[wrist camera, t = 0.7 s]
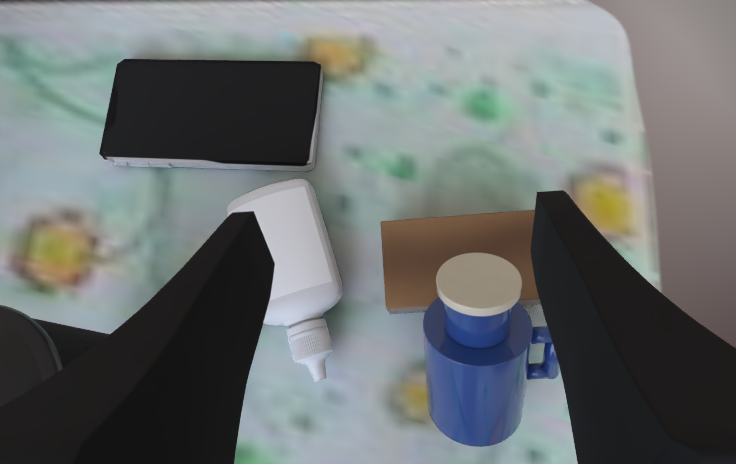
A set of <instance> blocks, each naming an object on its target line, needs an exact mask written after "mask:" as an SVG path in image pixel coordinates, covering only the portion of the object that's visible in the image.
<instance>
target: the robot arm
mask: <svg viewBox="0 0 736 464" xmlns="http://www.w3.org/2000/svg"><path fill="white" fill-rule="evenodd" d="M530 252H531V259H532V265H533V272H534V277H535V283H536V288H537V292H538V295H539V299H540V302H541V306H542V309H543V312H544V316H545V319H546V323H547V326H548V329H549V333H550V336H551V339H552V343H553V346H554V349H555V353H556V356H557V360H558V363H559V366H560V370H561V375H562V379H563V383H564V388H565V393H566V399H567V404H568V409H569V415H570V420H571V426H572V432H573V438H574V443H575V449H576V455H577V461H578V464H736V348H734V347H733V346H731V345H730V344H728V343H727V342H725V341H724V340H723V339H721V338H720V337H718V336H717V335H715V334H714V333H712V332H711V331H710V330H708V329H707V328H705V327H704V326H702V325H701V324H699V323H698V322H696V321H695V320H694V319H693V318H691V317H690V316H689V315H687V314H686V313H685V312H683V311H682V310H681V309H680V308H678V307H677V306H676V305H675V304H674V303H672V302H671V301H670V300H669V299H668V298H666V297H665V296H664V295H663V294H662V293H660V292H659V291H658V290H657V289H656V288H655V287H654V286H652V285H651V284H650V283H649V282H648V281H647V280H646V279H645V278H644V277H643V276H642V275H640V274H639V273H638V272H637V271H636V270H635V269H634V268H633V267H632V266H631V265H630V264H629V263H628V262H627V261H626V260H625V259H624V258H623V257H622V256H621V255H620V254H619V253H618V252H617V251H616V250H615V249H614V248H613V246H612V245H611V244H610V243H609V242H608V241H607V240H606V239H605V238H604V237H603V236H602V235H601V234H600V232H599V231H598V230H597V229H596V228H595V227H594V226H593V224H592V223H591V222H590V221H589V220H588V219H587V217H586V216H585V215H584V214H583V213H582V211H581V210H580V209H579V208H578V207H577V205H576V204H575V203H574V202H573V200H572V199H571V198H570V196H569V195H568V194H567V193H566V192H565V191H564V190H562V191H547V192H537V197H536V206H535V215H534V223H533V232H532V241H531V249H530ZM274 267H275V263H274V260H273V258H272V255H271V253H270V250H269V248H268V245H267V243H266V240H265V238H264V235H263V233H262V230H261V228H260V226H259V223H258V221H257V218H256V216H255V213H254V211H248V212H233V213H231V214H230V215H229V216H228V217H227V218H226V219H225V221H224V222H223V223H222V224H221V225H220V226H219V227H218V228H217V230H216V231H215V232H214V233H213V234H212V235H211V236H210V238H209V239H208V240H207V241H206V242H205V243H204V244H203V246H202V247H201V248H200V249H199V250H198V251H197V252H196V253H195V254H194V255H193V257H192V258H191V259H190V260H189V261H188V262H187V263H186V264H185V265H184V267H183V268H182V269H181V270H180V271H179V272H178V273H177V274H176V275H175V276H174V277H173V278H172V279H171V280H170V281H169V282H168V283H167V284H166V285H165V286H164V287H163V288H162V289H161V290H160V291H159V292H158V293H157V294H156V295H155V296H154V297H153V298H152V299H151V300H150V301H149V302H148V303H147V304H145V305H144V306H143V307H142V308H141V309H140V310H139V311H138V312H136V313H135V314H134V315H133V316H132V317H131V318H129V319H128V320H127V321H126V322H125V323H124V324H122V325H121V326H120V327H119V328H118V329H116V330H115V331H114V332H112V333H111V334H110V335H109V336H107V337H106V338H105V339H103V340H102V341H101V342H99V343H98V344H97V345H95V346H94V347H93V348H91V349H90V350H89V351H87V352H86V353H85V354H83V355H82V356H81V357H79V358H78V359H76V360H75V361H73V362H72V363H70V364H69V365H67V366H66V367H65V368H63V369H62V370H60V371H59V372H57V373H55V374H54V375H52V376H51V377H49V378H48V379H46V380H45V381H43V382H41V383H40V384H38V385H37V386H35V387H33V388H32V389H30V390H28V391H27V392H25V393H23V394H21V395H20V396H18V397H16V398H15V399H13V400H11V401H9V402H8V403H6V404H4V405H2V406H1V407H0V464H234V458H235V450H236V444H237V437H238V430H239V423H240V417H241V411H242V406H243V400H244V394H245V388H246V384H247V379H248V375H249V371H250V367H251V364H252V360H253V357H254V353H255V350H256V347H257V343H258V340H259V336H260V333H261V329H262V326H263V322H264V319H265V315H266V311H267V308H268V304H269V300H270V296H271V289H272V283H273V275H274Z"/></svg>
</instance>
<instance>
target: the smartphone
mask: <svg viewBox="0 0 736 464" xmlns="http://www.w3.org/2000/svg"><path fill="white" fill-rule="evenodd" d="M322 85H323V71H322V68H321V65H320V64H318V63H316V62H301V61H229V60H180V59H124V60H123V61H121V62H120V63H118V64H117V68H116V73H115V78H114V83H113V88H112V93H111V98H110V103H109V108H108V113H107V118H106V123H105V128H104V133H103V138H102V143H101V148H100V153H99V154H100V155H101V156H102V157H103V158H104V159H105V160H106V161H108V162H110V163H111V164H113V165H127V166H129V165H133V166H136V167H152V166H153V167H164V168H172V167H193V168H221V169H250V170H278V171H309V170H312V169H314V167H315V158H316V148H317V138H318V127H319V117H320V106H321V96H322Z"/></svg>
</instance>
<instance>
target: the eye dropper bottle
mask: <svg viewBox="0 0 736 464" xmlns="http://www.w3.org/2000/svg"><path fill="white" fill-rule="evenodd" d="M226 211H227V216H229V215H230V214H231V213H233V212H248V211H254V213H255V216H256V218H257V221H258V223H259V226H260V228H261V230H262V233H263V235H264V238H265V240H266V243H267V245H268V248H269V250H270V253H271V255H272V258H273V260H274V263H275V267H274V275H273V283H272V289H271V296H270V300H269V304H268V308H267V311H266V315H265V319H264V322H263V323H265V324H268V325H284V326H286V327H290V328H289V329H287V330H286V333H287V337H288V341H289V345H290V349H291V352H292V356H293V360H294V362H296V363H301V364H304V365H306V366H307V367H308V369H309V370H310V372H311V374H312V377H313V379H314V381H318V380H321V379H324V378H326V368H325V360H326V358H327V356H328V355H329V354H330V353H331V352H332V351H333V345H332V342H331V338H330V335H329V331H328V328H327V324H326V321H325V319H320V318H321V317H322V316H323V314H324V313H325V312H326V311H328V310H329V309H330V308H332V307H333V306H334V305H335V304H336V303H337V302H338V301H339V300H340V299H341V297H342V295H343V285H342V281H341V277H340V274H339V270H338V267H337V263H336V260H335V257H334V253H333V250H332V247H331V243H330V240H329V236H328V233H327V230H326V227H325V223H324V220H323V217H322V213H321V210H320V207H319V203H318V200H317V197H316V193H315V191H314V189H313V187H312V186H311V185H310V183H309V182H308V181H306V180H304V179H292V180H286V181H282V182H277V183H274V184H270V185H267V186H264V187H261V188H258V189H255V190H253V191H250V192H248V193H246V194H244V195H242V196H240V197H238V198H236V199H234V200H233V201H231V202H230V203H229V204H228V206H227V210H226Z"/></svg>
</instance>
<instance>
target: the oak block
mask: <svg viewBox="0 0 736 464" xmlns="http://www.w3.org/2000/svg"><path fill="white" fill-rule="evenodd" d="M534 215H535V210H526V211H512V212H499V213H486V214H473V215H460V216H447V217H433V218H420V219H407V220H394V221H382V222H381V235H382V251H383V267H384V284H385V300H386V308H387V310H388V311H389V313H390V314H395V313H412V312H426V311H427V309H428V307H429V306H430V305H431V304H432V302H434V301H435V300H436V299H437V298H438V297H439V295H438V293H437V290H436V275H437V272H438V270H439V268H440V267H441V266H442V265H443V264H444V263H445V262H446V261H448V260H449V259H451V258H453V257H455V256H458V255H461V254H466V253H487V254H492V255H496V256H499V257H501V258H503V259H505V260H507V261H508V262H510V263H511V264H512V265H514V266H515V268H516V269H517V270H518V271H519V273H520V275H521V278H522V290H521V295H520V298H519V299H518V301H517V302H518V303H520V304H521V305H522V306H527V305H536V304H539V303H541V302H540V299H539V295H538V292H537V288H536V283H535V277H534V272H533V265H532V259H531V252H530V249H531V241H532V232H533V223H534Z"/></svg>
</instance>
